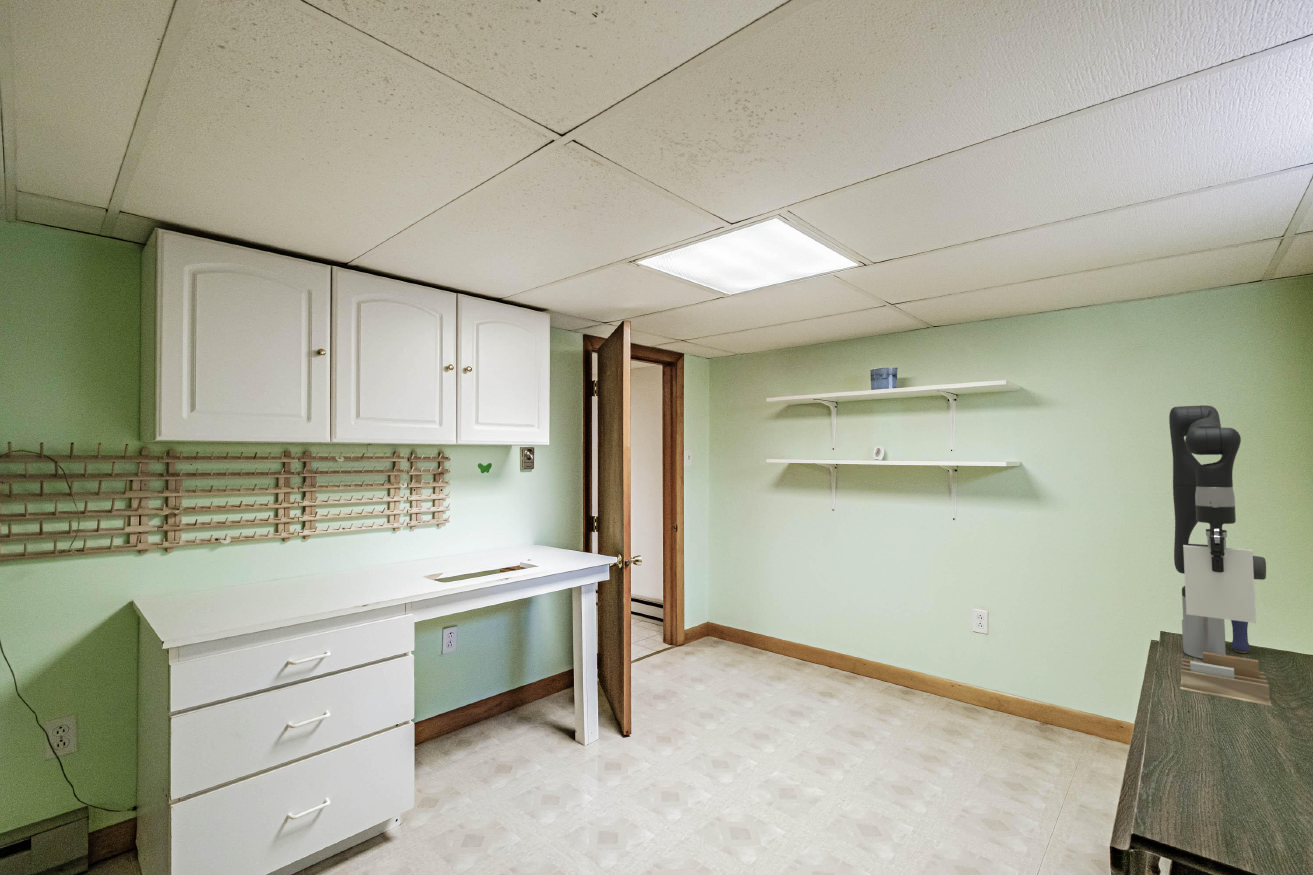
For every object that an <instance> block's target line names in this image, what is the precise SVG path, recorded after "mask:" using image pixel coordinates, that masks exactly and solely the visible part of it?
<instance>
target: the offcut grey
mask: <svg viewBox="0 0 1313 875" xmlns="http://www.w3.org/2000/svg"><path fill="white" fill-rule="evenodd" d="M1193 661H1194V660H1192V661H1190V669H1191V672H1197V673H1202V674H1208V675H1214V676H1220V677H1225V678H1231V679H1235V678H1234V668H1229V667H1223V666H1217V665H1211V664H1205V663H1199V662H1200V661H1198V662H1193Z"/></svg>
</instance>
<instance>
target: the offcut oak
mask: <svg viewBox="0 0 1313 875" xmlns="http://www.w3.org/2000/svg"><path fill="white" fill-rule="evenodd" d="M1202 662H1203V663H1205V664H1211V665H1217V666H1223V667H1229V668H1234V675H1237V676H1243V677H1249V678H1255V679H1259V672H1260V666H1259V665H1260V664H1259V663H1260V662H1259V660H1258V659H1252V658H1247V657H1246V658H1245V657H1239V656H1233V655H1227V654H1226V655H1221V654H1215V653H1208V652H1203V660H1202Z"/></svg>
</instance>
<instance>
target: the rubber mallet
mask: <svg viewBox="0 0 1313 875" xmlns="http://www.w3.org/2000/svg"><path fill="white" fill-rule="evenodd" d="M1253 572H1254V580H1260V581H1264V580H1266V578H1267V562H1266V558H1265V557H1264V556H1257V555H1253ZM1230 622H1231V627H1232V641H1231V648H1232V649H1233V650H1234V652H1236V653H1239V654H1248V652H1249V651H1250V649H1251V647H1250V644H1249V637H1248V635H1249V634H1248V627H1249V622H1244V621H1236V620H1230Z"/></svg>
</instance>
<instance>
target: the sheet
mask: <svg viewBox="0 0 1313 875" xmlns="http://www.w3.org/2000/svg"><path fill="white" fill-rule="evenodd" d="M1183 550H1184V572H1185V574H1184V586H1185V595H1186V614H1187V615H1195V616H1204V617H1212V618H1220V619H1224V620H1228V621H1231V620H1236V621H1244V622H1248V623H1252V624H1254V623H1255V624H1256V623H1257V617H1256V615H1257V614H1256V595H1255V593H1256V592H1255V579H1254V572H1253V556H1254V555H1253V554H1254V553H1253V549H1248V548H1247V549H1246V548H1245V549H1244V548H1232V547H1226V548H1225V549H1224V553H1225V557H1224V558H1223V564H1224V572H1213V571H1212V558H1211V556H1210V552H1211V548H1209V547H1203V546H1188V545H1183ZM1213 551H1221V549H1213Z"/></svg>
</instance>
